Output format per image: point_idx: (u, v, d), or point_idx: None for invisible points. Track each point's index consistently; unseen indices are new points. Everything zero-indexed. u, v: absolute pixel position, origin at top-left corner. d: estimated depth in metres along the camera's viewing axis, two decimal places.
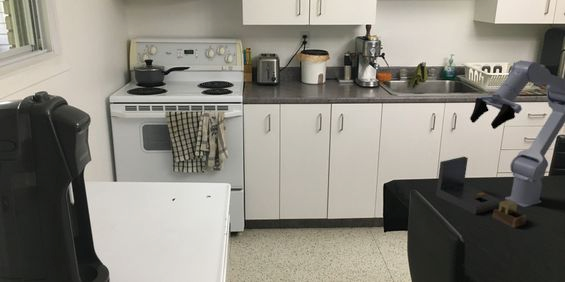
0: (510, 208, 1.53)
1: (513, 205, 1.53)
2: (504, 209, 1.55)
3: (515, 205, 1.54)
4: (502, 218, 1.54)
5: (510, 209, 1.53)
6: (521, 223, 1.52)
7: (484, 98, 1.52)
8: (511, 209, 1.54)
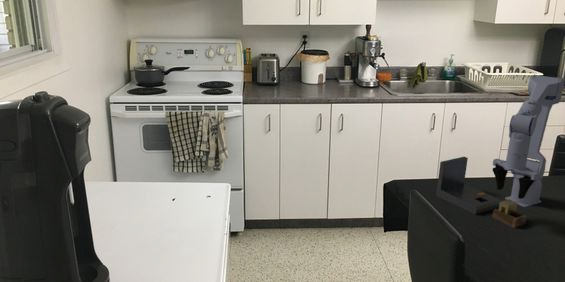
0: (510, 208, 1.53)
1: (513, 205, 1.53)
2: (504, 209, 1.55)
3: (515, 205, 1.54)
4: (502, 218, 1.54)
5: (510, 209, 1.53)
6: (521, 223, 1.52)
7: None
8: (511, 209, 1.54)
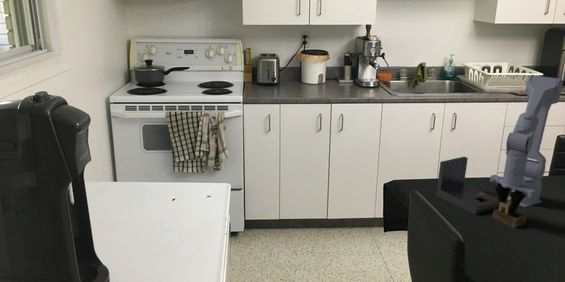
0: None
1: None
2: (504, 209, 1.55)
3: None
4: (502, 218, 1.54)
5: None
6: (521, 223, 1.52)
7: None
8: None
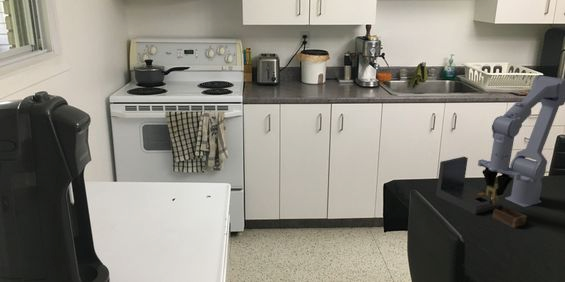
0: None
1: None
2: (491, 193, 1.58)
3: None
4: (502, 218, 1.54)
5: None
6: (521, 223, 1.52)
7: None
8: None
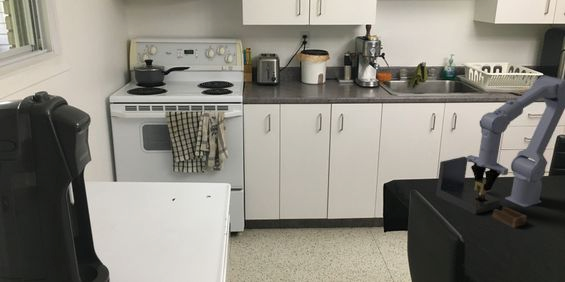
0: None
1: None
2: (479, 188, 1.62)
3: None
4: (502, 218, 1.54)
5: None
6: (521, 223, 1.52)
7: None
8: None
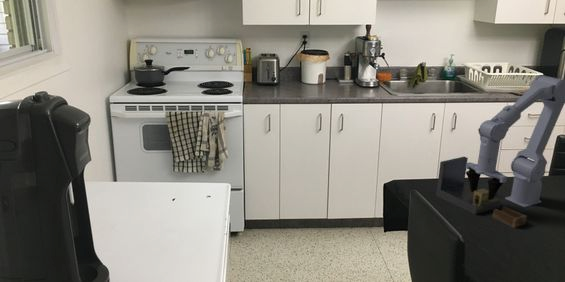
0: (483, 196, 1.61)
1: (486, 194, 1.62)
2: (478, 197, 1.63)
3: None
4: (502, 218, 1.54)
5: (484, 197, 1.61)
6: (521, 223, 1.52)
7: None
8: (485, 197, 1.62)
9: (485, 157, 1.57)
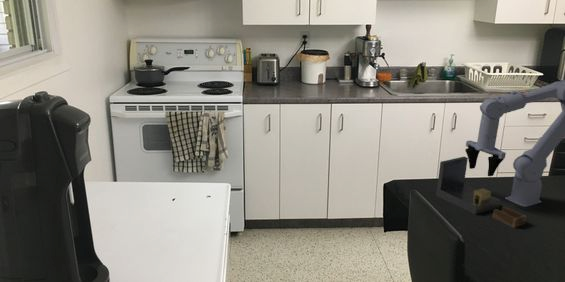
0: (483, 196, 1.61)
1: (486, 194, 1.62)
2: (478, 197, 1.63)
3: (488, 194, 1.62)
4: (502, 218, 1.54)
5: (484, 197, 1.61)
6: (521, 223, 1.52)
7: None
8: (485, 197, 1.62)
9: (482, 133, 1.62)
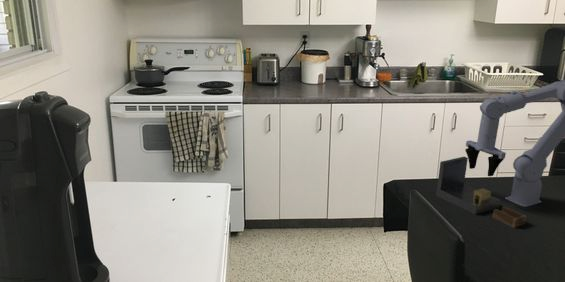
0: (483, 196, 1.61)
1: (486, 194, 1.62)
2: (478, 197, 1.63)
3: (488, 194, 1.62)
4: (502, 218, 1.54)
5: (484, 197, 1.61)
6: (521, 223, 1.52)
7: None
8: (485, 197, 1.62)
9: (482, 133, 1.62)
